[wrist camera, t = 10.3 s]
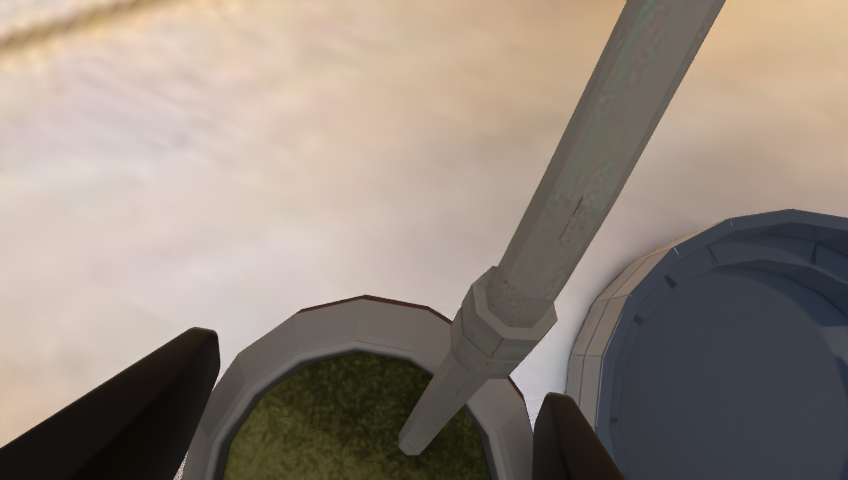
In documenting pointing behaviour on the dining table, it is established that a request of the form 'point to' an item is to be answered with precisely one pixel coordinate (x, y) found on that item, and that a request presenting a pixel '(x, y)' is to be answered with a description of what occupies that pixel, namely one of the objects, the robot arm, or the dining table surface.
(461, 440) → the mate gourd
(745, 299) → the large metal bowl
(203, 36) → the dining table surface
